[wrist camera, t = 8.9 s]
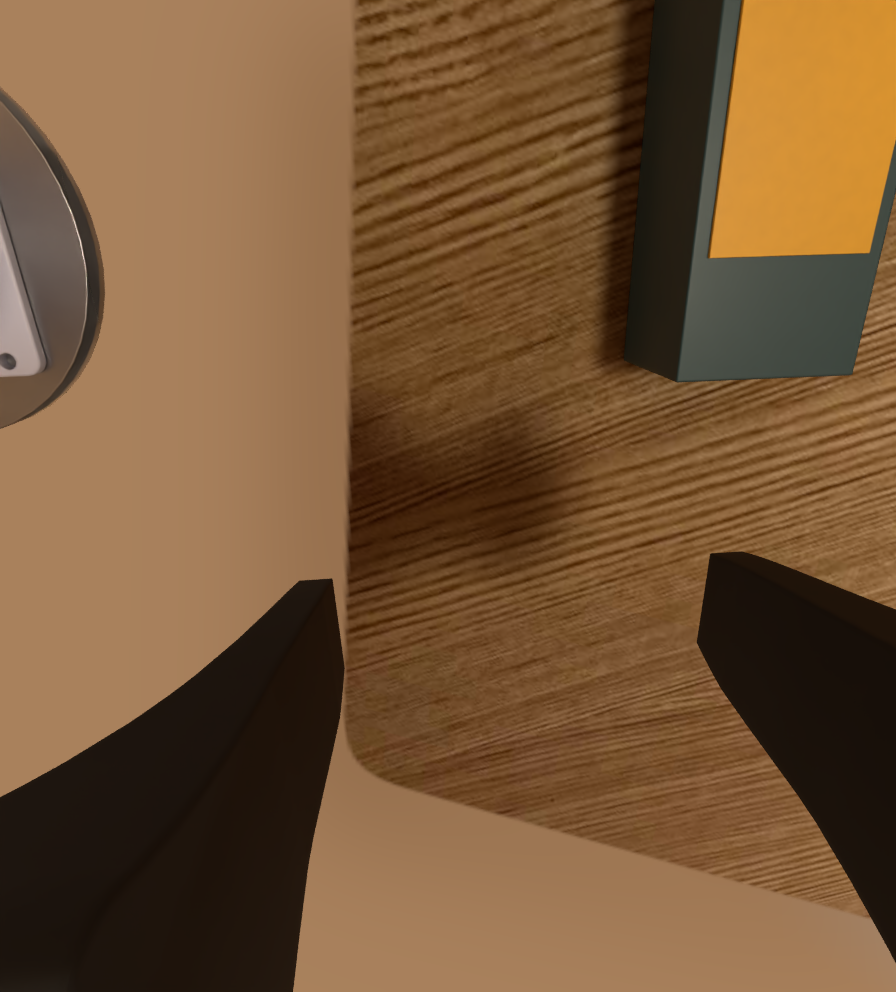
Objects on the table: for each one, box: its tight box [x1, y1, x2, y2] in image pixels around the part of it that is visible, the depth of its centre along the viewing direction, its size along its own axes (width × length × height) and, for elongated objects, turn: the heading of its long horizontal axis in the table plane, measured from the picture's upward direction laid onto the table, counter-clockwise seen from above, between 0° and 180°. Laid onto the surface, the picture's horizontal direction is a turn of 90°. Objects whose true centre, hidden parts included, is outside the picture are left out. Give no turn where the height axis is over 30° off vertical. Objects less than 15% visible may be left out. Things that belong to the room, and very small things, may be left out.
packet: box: [624, 0, 896, 382], centre depth 14 cm, size 12×5×4 cm, turn 2°
